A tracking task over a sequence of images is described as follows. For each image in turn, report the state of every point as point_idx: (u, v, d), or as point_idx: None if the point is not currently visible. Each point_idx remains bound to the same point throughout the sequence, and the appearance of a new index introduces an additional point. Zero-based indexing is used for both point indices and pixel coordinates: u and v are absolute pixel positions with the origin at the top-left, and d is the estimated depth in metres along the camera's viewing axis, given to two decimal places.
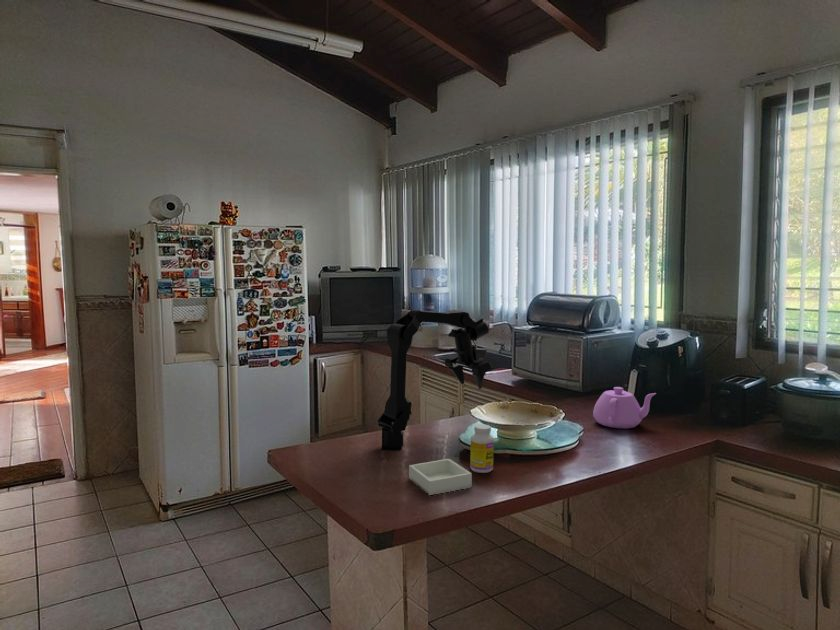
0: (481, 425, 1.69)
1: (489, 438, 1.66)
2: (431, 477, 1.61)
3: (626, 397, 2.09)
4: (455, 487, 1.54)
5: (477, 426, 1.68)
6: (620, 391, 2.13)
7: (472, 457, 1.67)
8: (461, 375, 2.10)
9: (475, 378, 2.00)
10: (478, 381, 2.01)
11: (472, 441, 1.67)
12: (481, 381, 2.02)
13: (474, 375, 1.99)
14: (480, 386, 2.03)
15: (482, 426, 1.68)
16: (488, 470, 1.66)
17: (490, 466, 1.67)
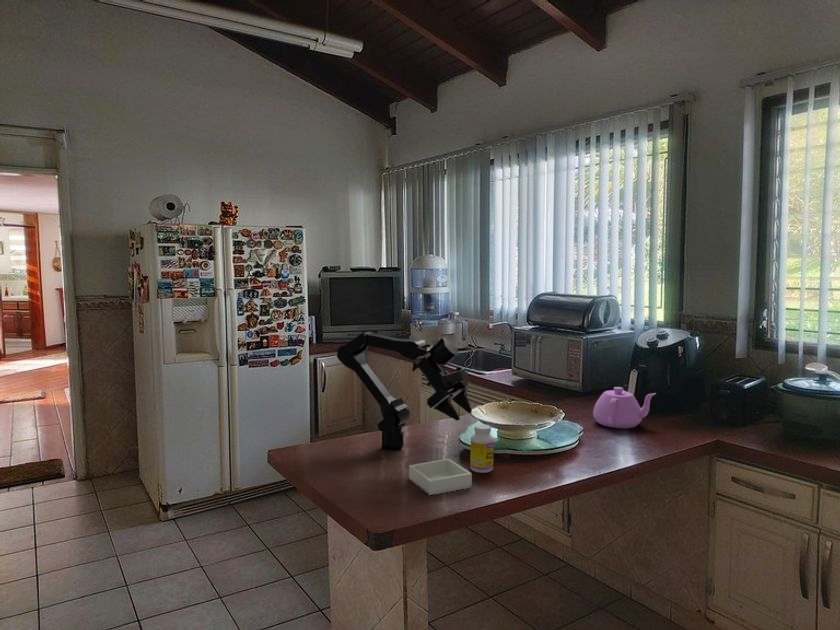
0: (481, 425, 1.69)
1: (489, 438, 1.66)
2: (431, 477, 1.61)
3: (626, 397, 2.09)
4: (455, 487, 1.54)
5: (477, 426, 1.68)
6: (620, 391, 2.13)
7: (472, 457, 1.67)
8: (464, 403, 1.80)
9: None
10: (446, 413, 1.71)
11: (472, 441, 1.67)
12: (452, 412, 1.71)
13: None
14: (455, 417, 1.71)
15: (482, 426, 1.68)
16: (488, 470, 1.66)
17: (490, 466, 1.67)
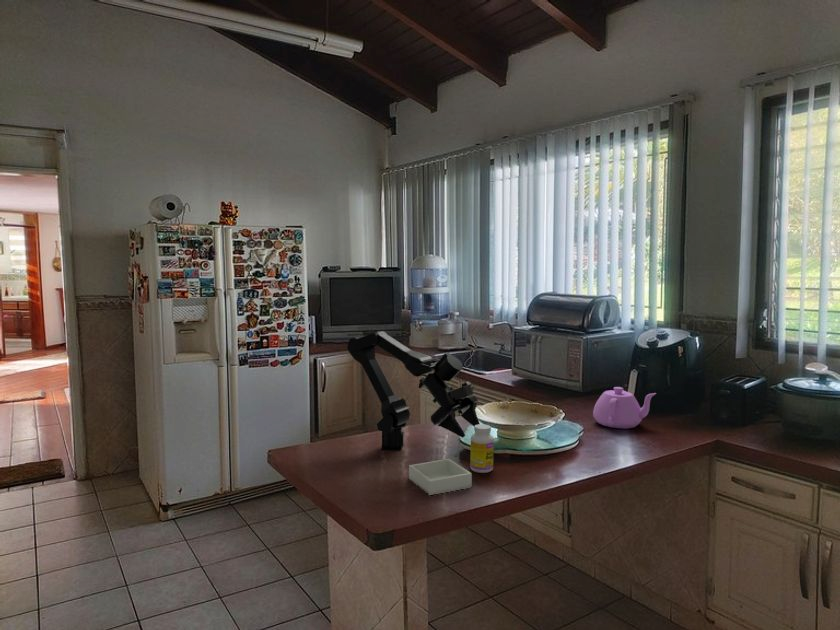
0: (481, 425, 1.69)
1: (489, 438, 1.66)
2: (431, 477, 1.61)
3: (626, 397, 2.09)
4: (455, 487, 1.54)
5: (477, 426, 1.68)
6: (620, 391, 2.13)
7: (472, 457, 1.67)
8: (473, 419, 1.75)
9: None
10: (450, 430, 1.67)
11: (472, 441, 1.67)
12: (456, 429, 1.66)
13: None
14: (460, 434, 1.67)
15: (482, 426, 1.68)
16: (488, 470, 1.66)
17: (490, 466, 1.67)
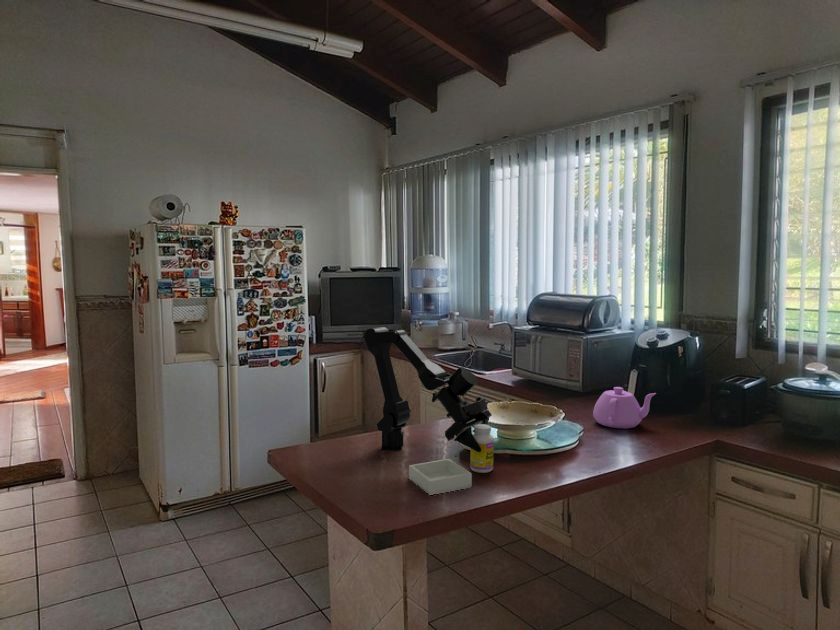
0: (481, 425, 1.69)
1: (489, 438, 1.66)
2: (431, 477, 1.61)
3: (626, 397, 2.09)
4: (455, 487, 1.54)
5: (477, 426, 1.68)
6: (620, 391, 2.13)
7: (472, 457, 1.67)
8: None
9: None
10: (467, 444, 1.66)
11: None
12: (473, 443, 1.65)
13: None
14: (477, 449, 1.65)
15: (482, 426, 1.68)
16: (488, 470, 1.66)
17: (490, 466, 1.67)
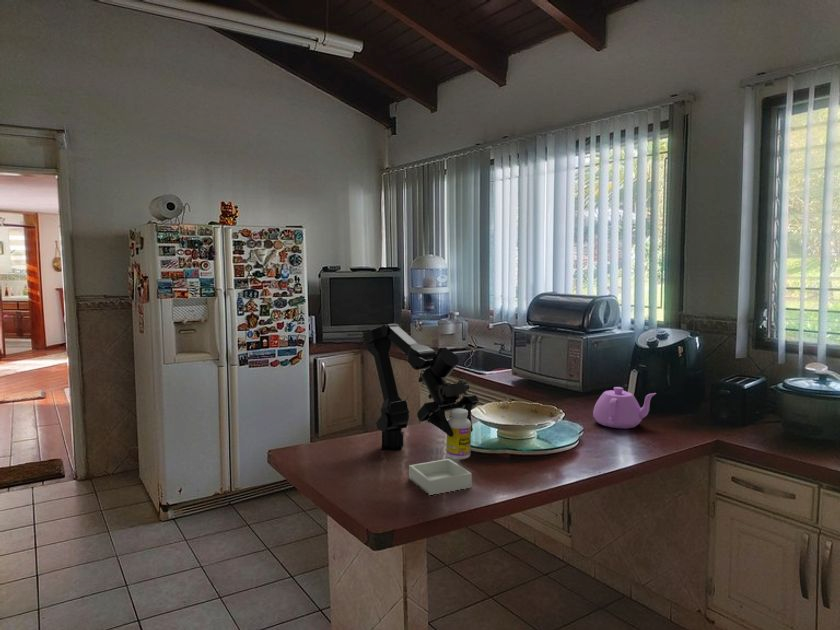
0: (459, 409, 1.61)
1: (464, 423, 1.58)
2: (431, 477, 1.61)
3: (626, 397, 2.09)
4: (455, 487, 1.54)
5: (454, 410, 1.60)
6: (620, 391, 2.13)
7: (447, 441, 1.60)
8: None
9: None
10: (440, 427, 1.59)
11: None
12: (445, 427, 1.58)
13: None
14: (449, 433, 1.58)
15: (459, 410, 1.60)
16: (461, 457, 1.58)
17: (464, 453, 1.58)
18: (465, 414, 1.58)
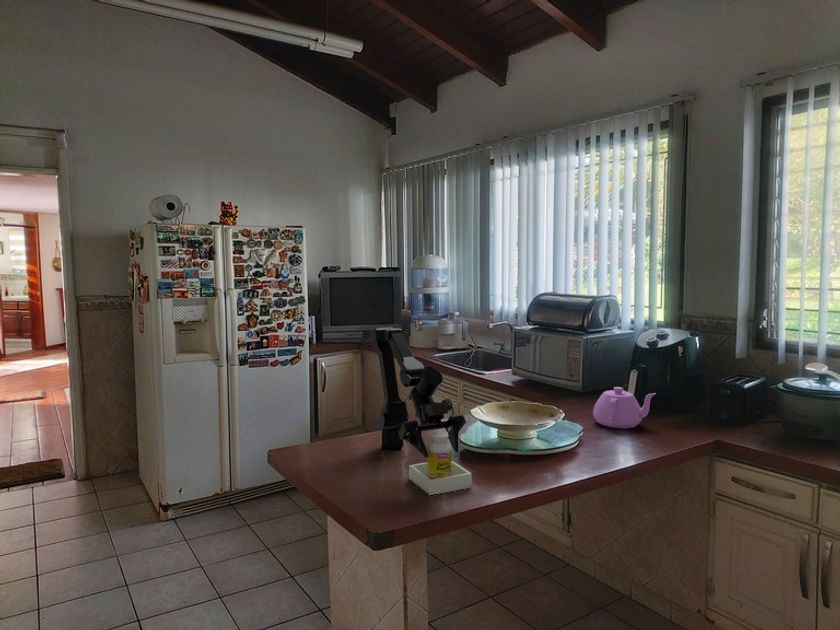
0: (440, 433, 1.59)
1: (442, 448, 1.55)
2: None
3: (626, 397, 2.09)
4: (455, 487, 1.54)
5: (434, 433, 1.58)
6: (620, 391, 2.13)
7: (427, 465, 1.58)
8: (453, 441, 1.60)
9: None
10: (416, 447, 1.57)
11: (427, 448, 1.58)
12: (420, 447, 1.56)
13: None
14: (424, 454, 1.55)
15: (439, 434, 1.58)
16: None
17: None
18: (444, 438, 1.56)
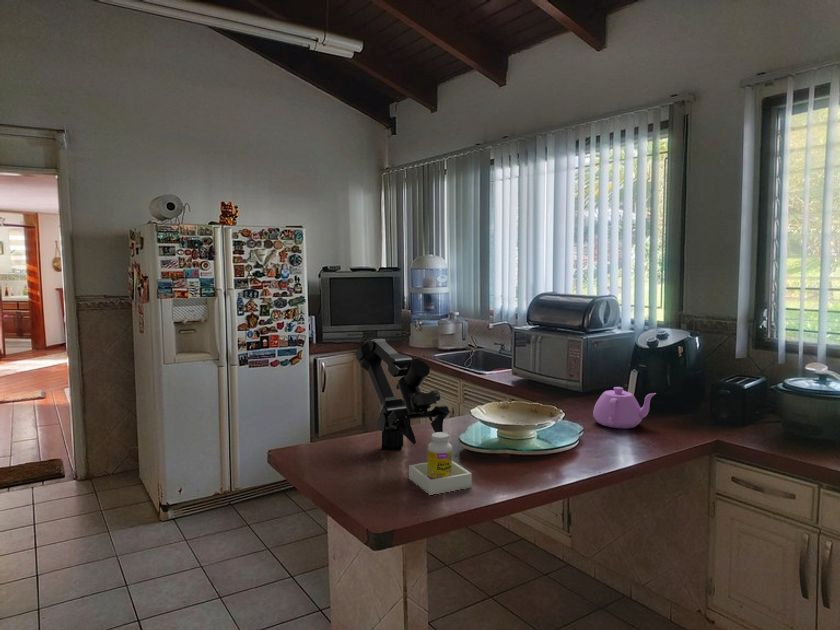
0: (441, 433, 1.59)
1: (442, 448, 1.55)
2: None
3: (626, 397, 2.09)
4: (455, 487, 1.54)
5: (435, 433, 1.58)
6: (620, 391, 2.13)
7: (427, 465, 1.58)
8: (438, 430, 1.70)
9: None
10: (404, 434, 1.66)
11: None
12: (409, 434, 1.65)
13: None
14: (412, 440, 1.64)
15: (440, 434, 1.58)
16: None
17: None
18: (444, 439, 1.56)
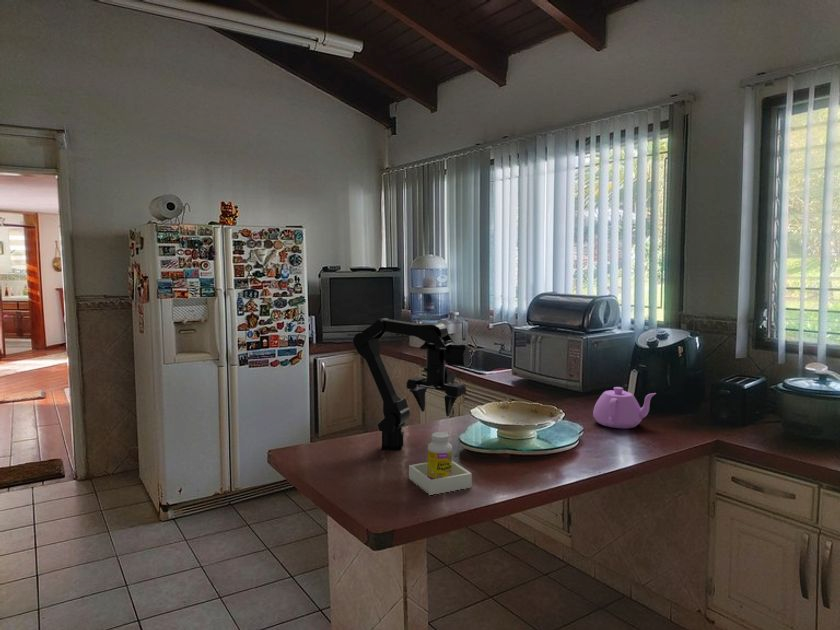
0: (441, 433, 1.59)
1: (442, 448, 1.55)
2: None
3: (626, 397, 2.09)
4: (455, 487, 1.54)
5: (435, 433, 1.58)
6: (620, 391, 2.13)
7: (427, 465, 1.58)
8: (423, 401, 1.83)
9: (447, 402, 1.75)
10: (449, 405, 1.75)
11: None
12: (451, 407, 1.77)
13: (447, 398, 1.74)
14: (448, 413, 1.77)
15: (440, 434, 1.58)
16: None
17: None
18: (444, 438, 1.56)
